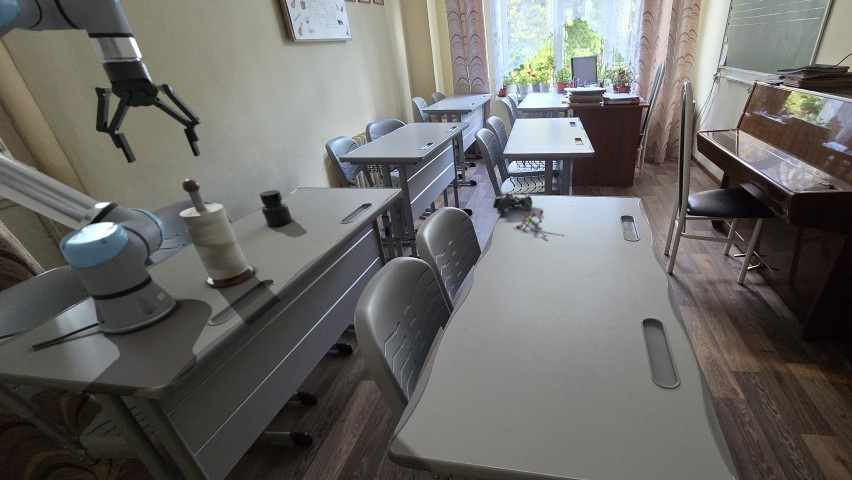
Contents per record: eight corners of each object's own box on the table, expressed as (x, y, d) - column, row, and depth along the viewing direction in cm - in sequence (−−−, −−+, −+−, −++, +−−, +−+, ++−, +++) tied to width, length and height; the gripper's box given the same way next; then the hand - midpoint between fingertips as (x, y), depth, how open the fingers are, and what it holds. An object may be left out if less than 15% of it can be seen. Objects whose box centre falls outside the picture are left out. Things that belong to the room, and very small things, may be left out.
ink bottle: (278, 217, 161) (268, 188, 154) (297, 218, 159) (288, 189, 153) (261, 227, 152) (250, 196, 146) (281, 227, 151) (270, 197, 145)
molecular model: (545, 230, 137) (545, 209, 134) (525, 235, 134) (525, 214, 131) (534, 223, 143) (534, 203, 139) (515, 228, 140) (514, 208, 136)
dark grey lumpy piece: (538, 206, 148) (503, 187, 143) (523, 229, 153) (489, 212, 148) (534, 195, 158) (501, 176, 153) (519, 217, 163) (487, 200, 158)
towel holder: (214, 272, 121) (203, 290, 112) (169, 176, 107) (152, 188, 97) (257, 264, 125) (249, 282, 115) (219, 171, 110) (207, 182, 100)
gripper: (192, 58, 95) (225, 150, 106) (60, 63, 87) (110, 161, 98) (184, 58, 89) (220, 155, 100) (41, 63, 81) (96, 167, 92)
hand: (165, 158), depth 99 cm, fingers open, 13 cm apart
